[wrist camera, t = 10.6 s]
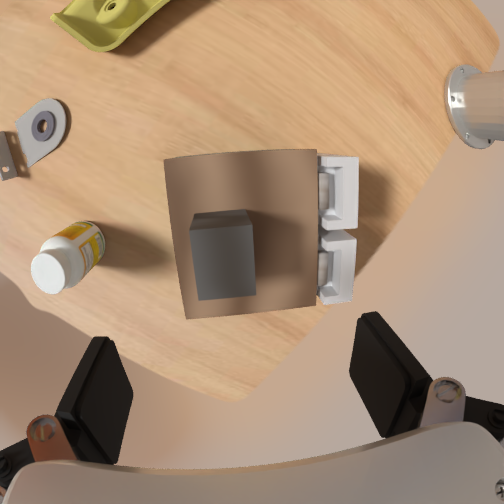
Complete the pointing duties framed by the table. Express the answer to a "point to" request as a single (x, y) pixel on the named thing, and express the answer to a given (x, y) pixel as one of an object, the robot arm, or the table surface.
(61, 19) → the plastic component
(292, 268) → the door
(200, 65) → the table surface
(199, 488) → the robot arm
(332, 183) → the cabinet
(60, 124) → the bracket
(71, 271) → the supplement bottle
